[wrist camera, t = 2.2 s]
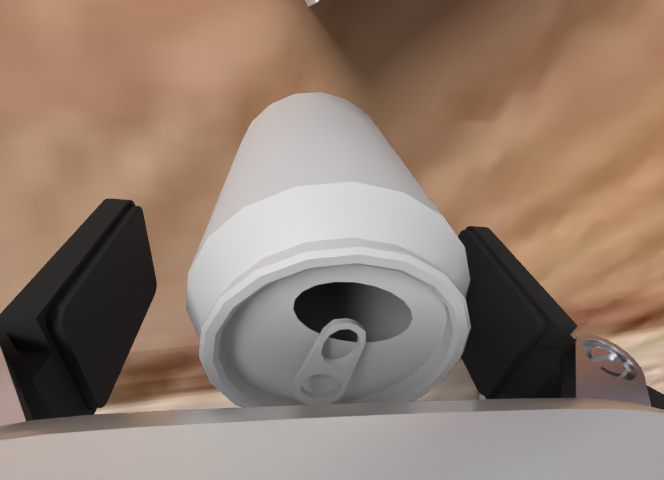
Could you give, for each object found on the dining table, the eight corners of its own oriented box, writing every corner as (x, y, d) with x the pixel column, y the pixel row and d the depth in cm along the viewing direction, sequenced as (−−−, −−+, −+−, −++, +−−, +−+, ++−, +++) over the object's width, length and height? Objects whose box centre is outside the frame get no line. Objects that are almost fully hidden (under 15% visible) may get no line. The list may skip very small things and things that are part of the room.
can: (410, 126, 17) (580, 289, 7) (346, 240, 20) (396, 454, 10) (266, 58, 14) (208, 157, 4) (224, 201, 18) (140, 428, 8)
